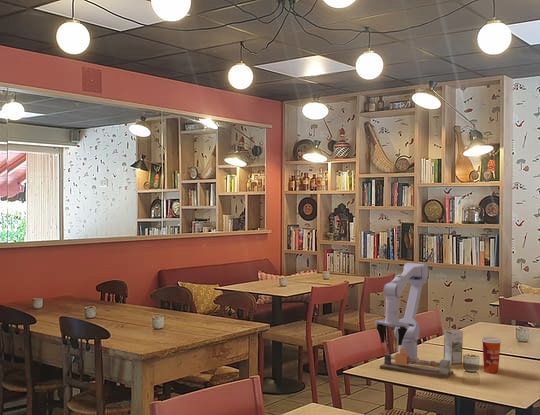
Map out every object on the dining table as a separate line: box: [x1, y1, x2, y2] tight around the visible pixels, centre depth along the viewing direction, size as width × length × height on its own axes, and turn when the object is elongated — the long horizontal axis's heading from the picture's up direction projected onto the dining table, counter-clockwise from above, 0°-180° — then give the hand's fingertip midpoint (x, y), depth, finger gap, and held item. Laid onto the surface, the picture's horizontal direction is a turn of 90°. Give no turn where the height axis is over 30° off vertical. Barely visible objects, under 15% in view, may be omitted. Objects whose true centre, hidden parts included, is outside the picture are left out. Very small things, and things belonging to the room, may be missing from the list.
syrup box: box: [443, 328, 464, 365], centre depth 286 cm, size 6×6×14 cm
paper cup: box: [481, 336, 502, 374], centre depth 270 cm, size 8×8×14 cm
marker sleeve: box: [394, 348, 411, 365], centre depth 272 cm, size 4×5×6 cm
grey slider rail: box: [379, 353, 454, 380], centre depth 269 cm, size 10×28×6 cm, turn 58°
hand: (391, 343), depth 275 cm, fingers open, 7 cm apart
